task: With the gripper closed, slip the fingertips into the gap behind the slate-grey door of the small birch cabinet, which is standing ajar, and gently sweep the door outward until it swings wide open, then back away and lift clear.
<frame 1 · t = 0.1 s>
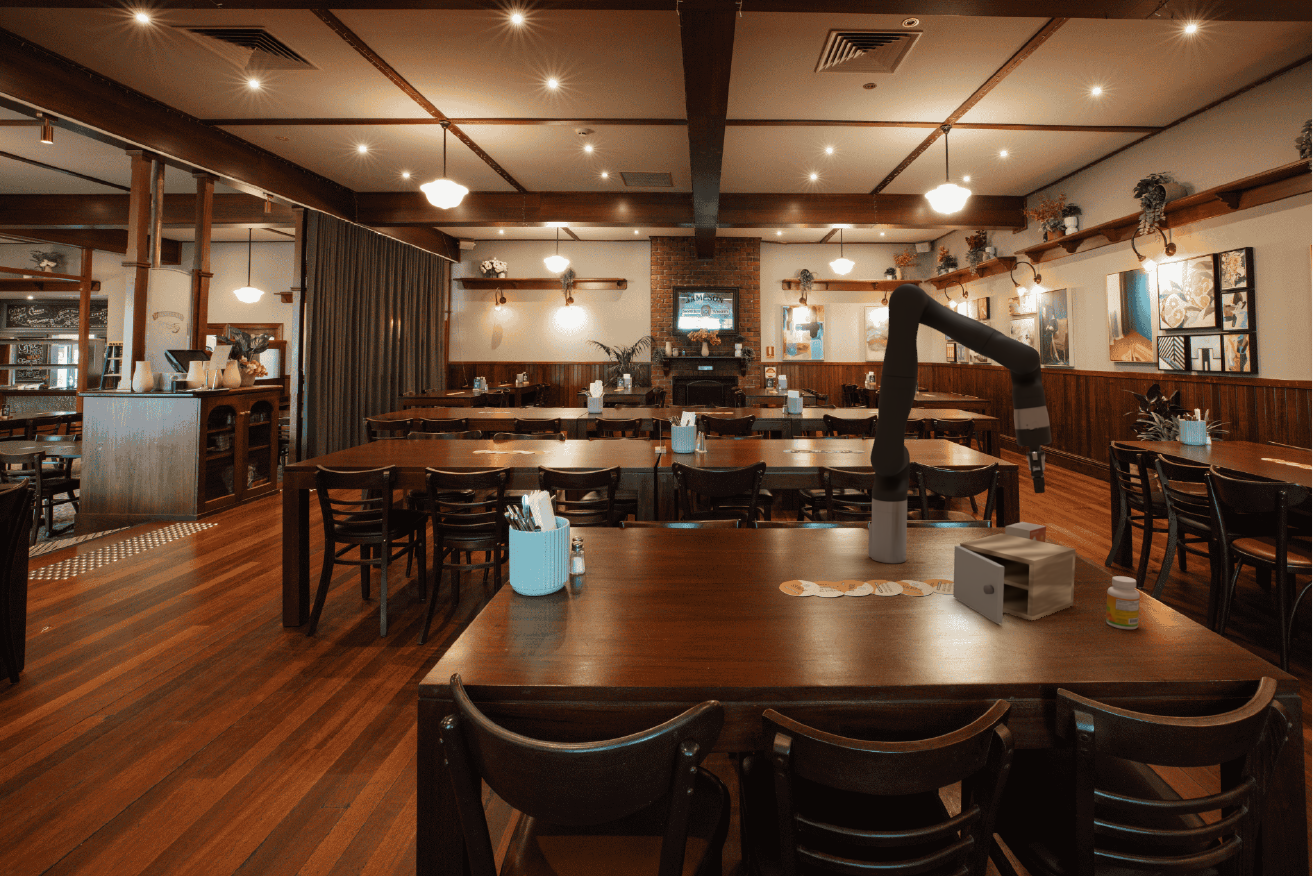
hand: (1040, 490, 163), 22 cm above the table, tool pointing down, fingers open, 8 cm apart
supplement bottle: (1121, 625, 134), on the table
door: (974, 582, 143), point 6 cm above the table, hinge at 25.0°
cabinet: (1014, 601, 149), on the table
small box: (1023, 576, 167), on the table
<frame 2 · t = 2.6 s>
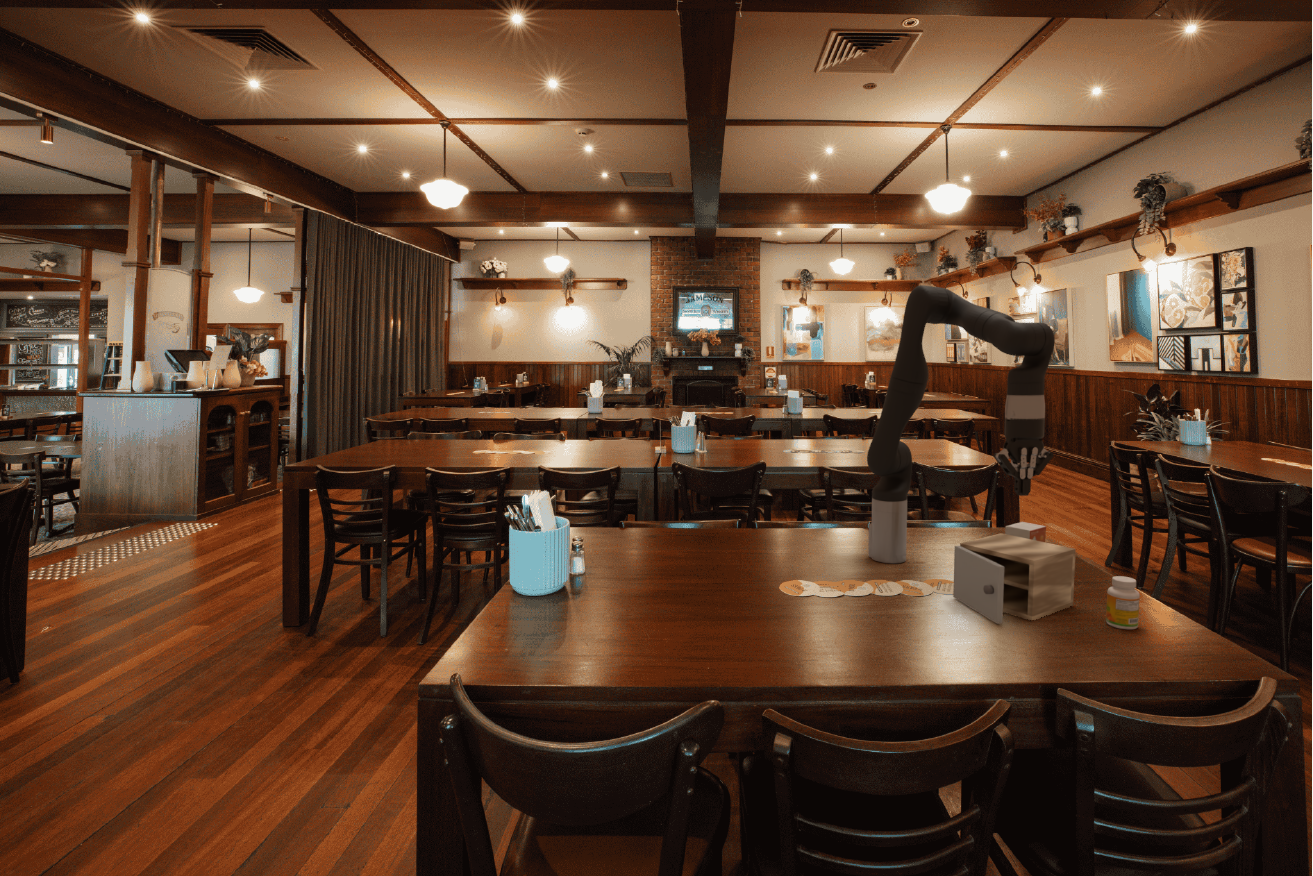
hand: (1022, 495, 143), 25 cm above the table, tool pointing down, fingers closed
nothing on the table moved.
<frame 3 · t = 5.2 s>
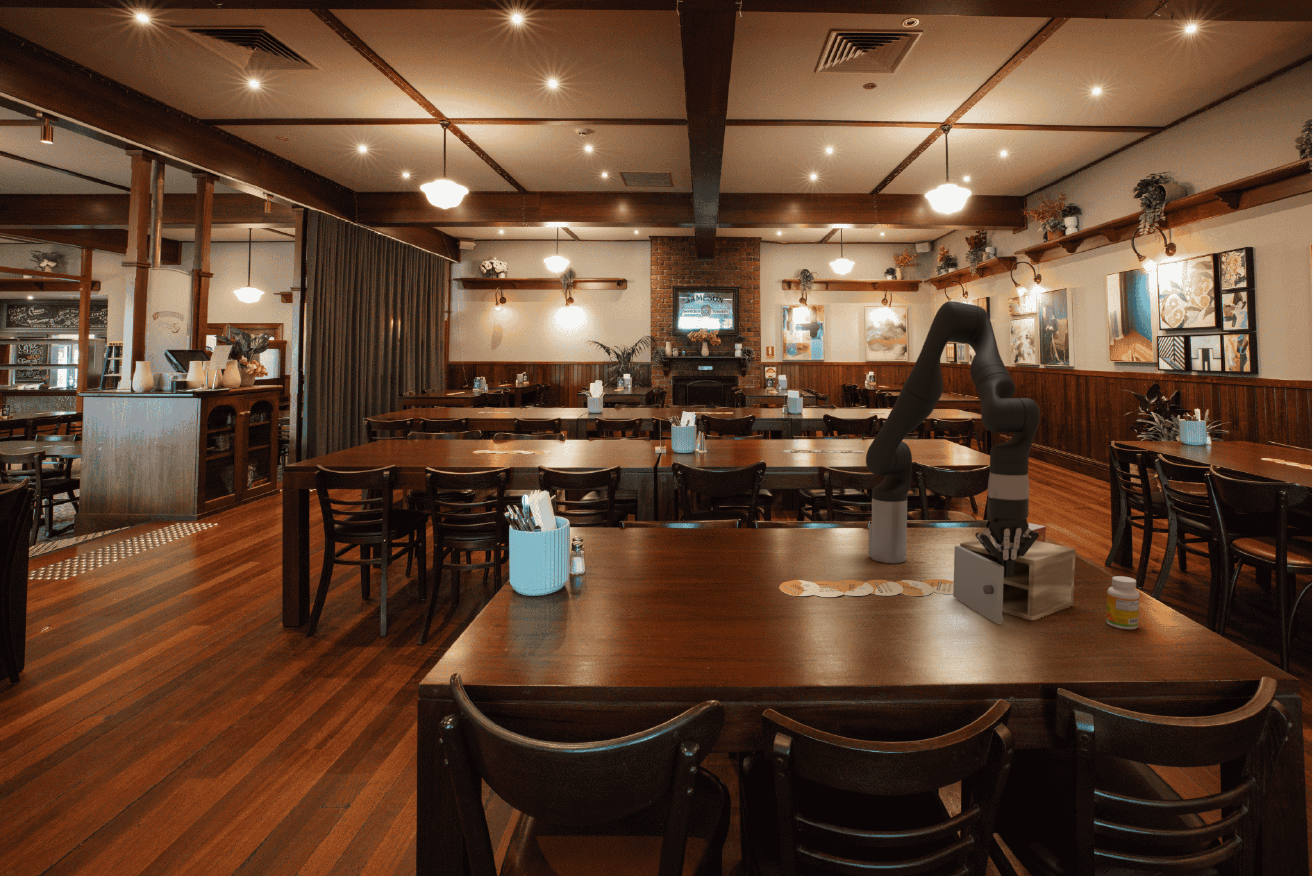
hand: (1005, 576, 137), 10 cm above the table, tool pointing down, fingers closed
door: (974, 582, 143), point 6 cm above the table, hinge at 25.3°, touching gripper
everything else where it was.
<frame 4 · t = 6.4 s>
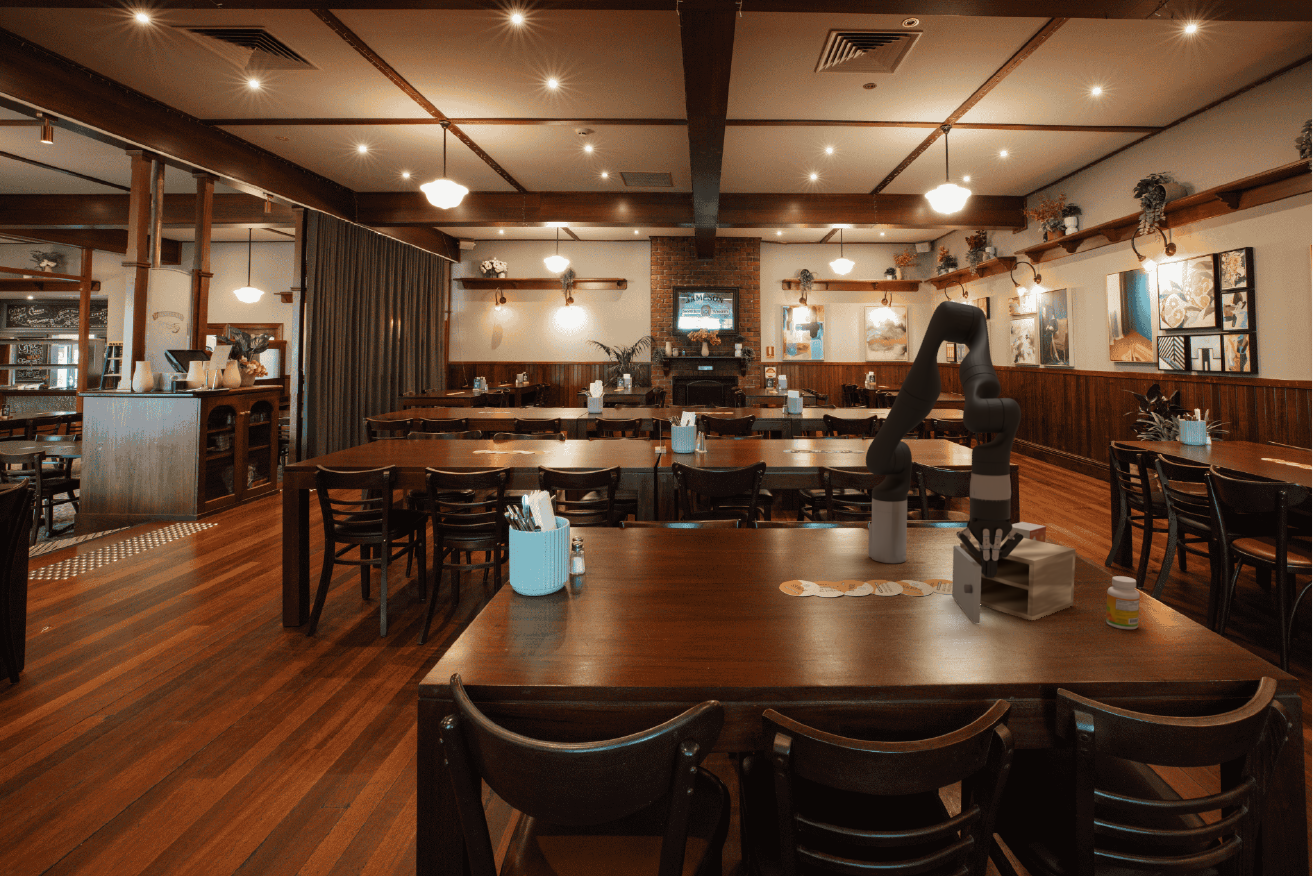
hand: (988, 576, 137), 10 cm above the table, tool pointing down, fingers closed
door: (963, 582, 143), point 6 cm above the table, hinge at 40.7°, touching gripper
everything else where it was.
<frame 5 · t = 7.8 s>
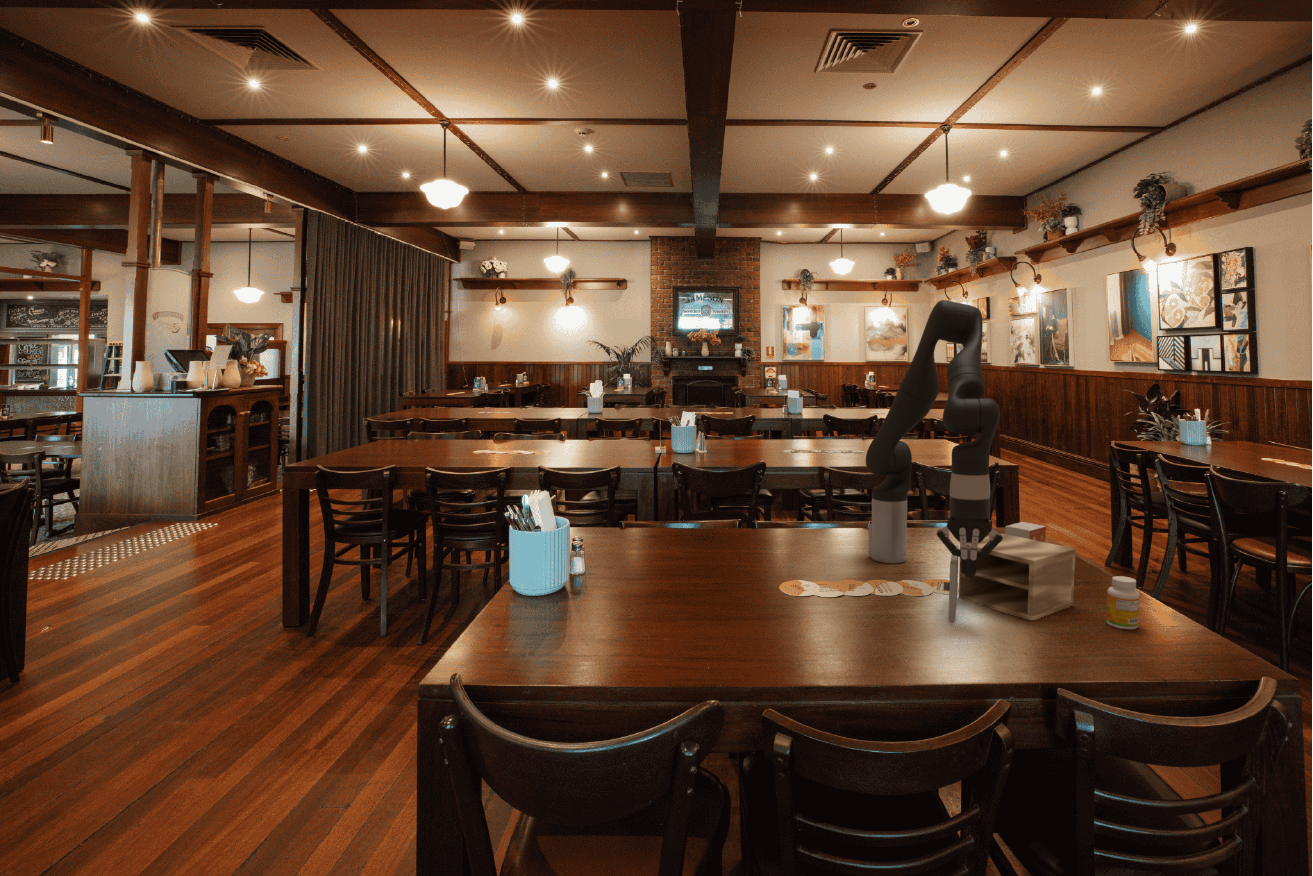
hand: (968, 575, 138), 10 cm above the table, tool pointing down, fingers closed
door: (950, 580, 144), point 6 cm above the table, hinge at 56.8°, touching gripper
everything else where it was.
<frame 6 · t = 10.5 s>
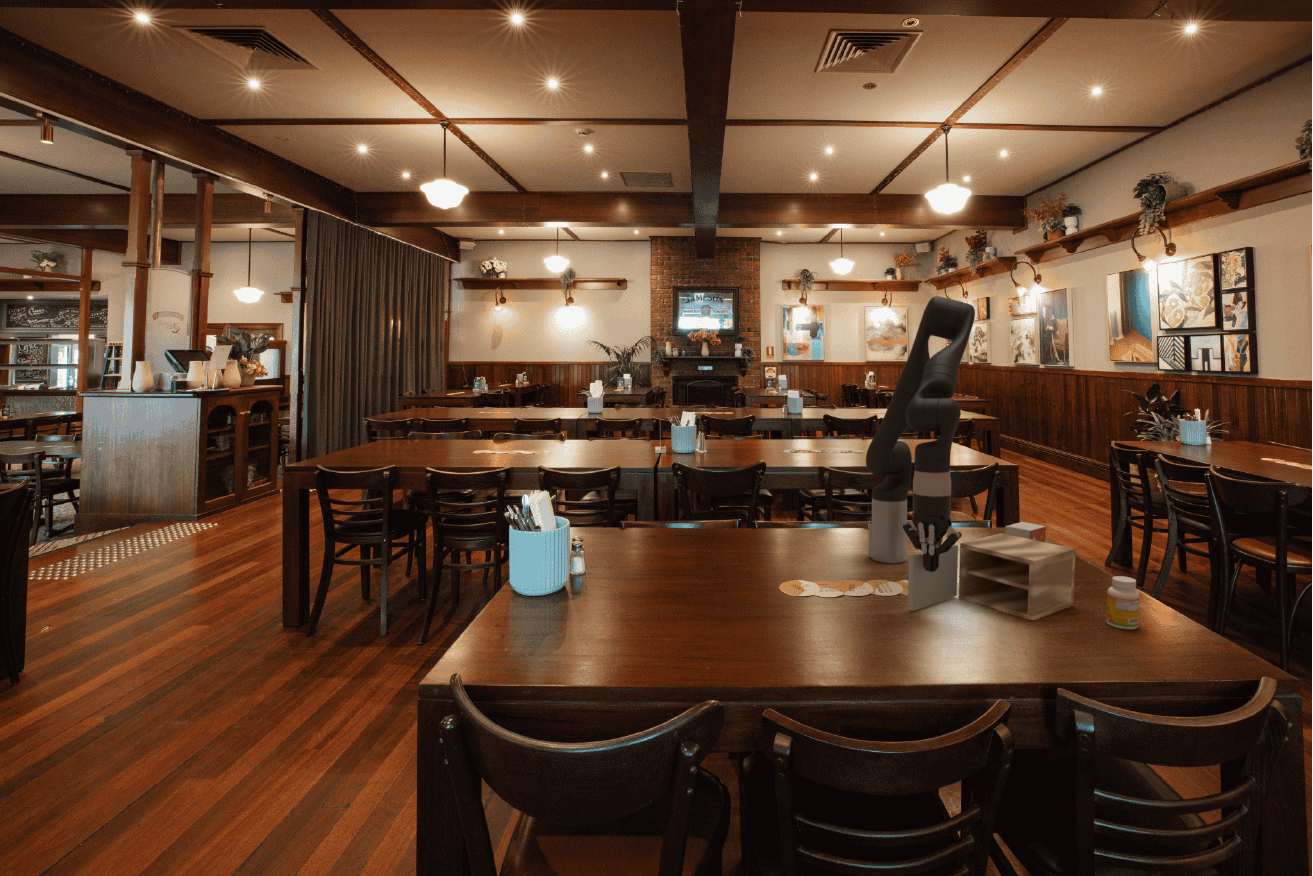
hand: (930, 570, 142), 10 cm above the table, tool pointing down, fingers closed
door: (931, 575, 148), point 6 cm above the table, hinge at 87.7°, touching gripper
everything else where it was.
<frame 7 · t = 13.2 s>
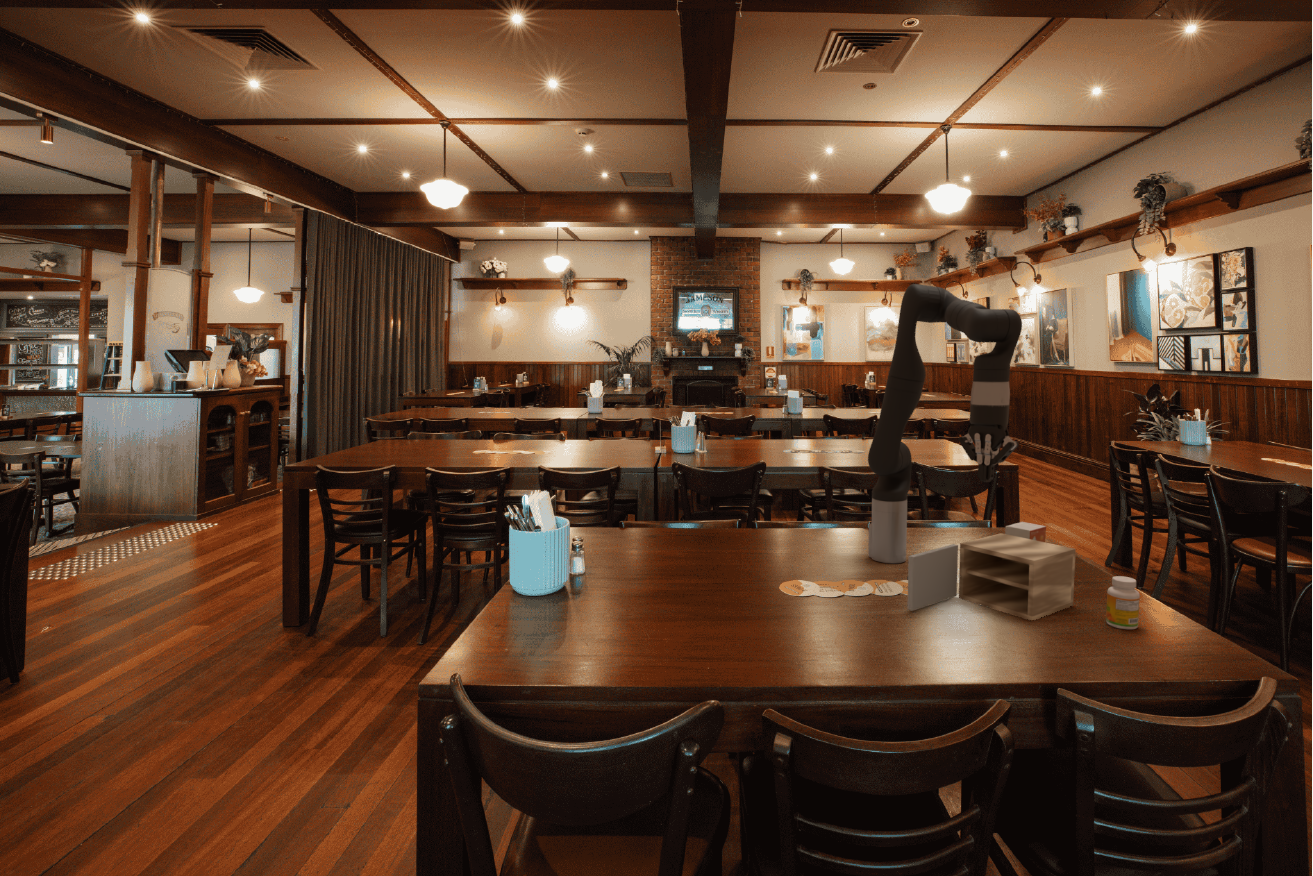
hand: (985, 481, 144), 28 cm above the table, tool pointing down, fingers closed
door: (931, 575, 148), point 6 cm above the table, hinge at 87.9°
everything else where it was.
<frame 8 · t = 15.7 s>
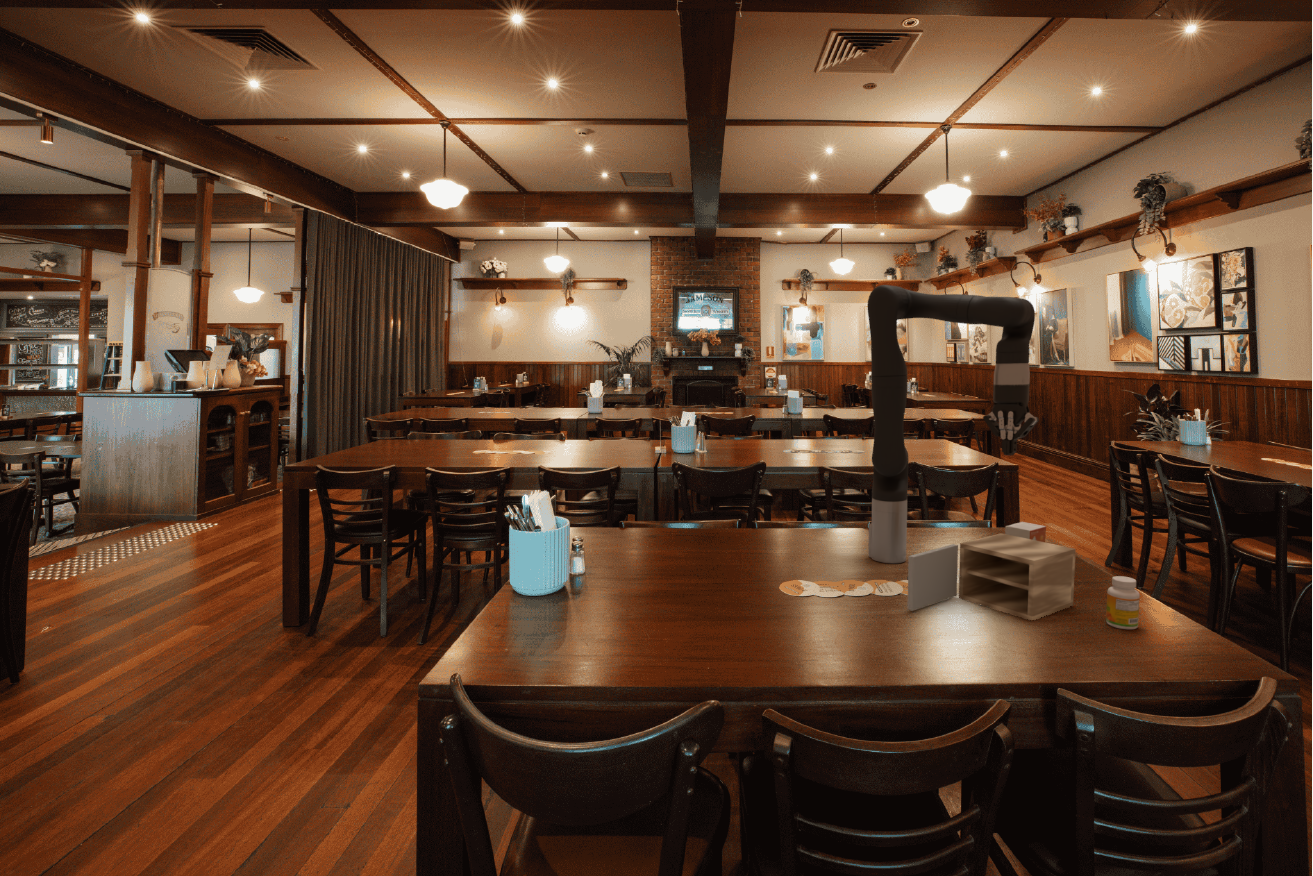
hand: (1008, 454, 158), 32 cm above the table, tool pointing down, fingers closed
nothing on the table moved.
at the end: door at +88° (first picture: +25°) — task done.
